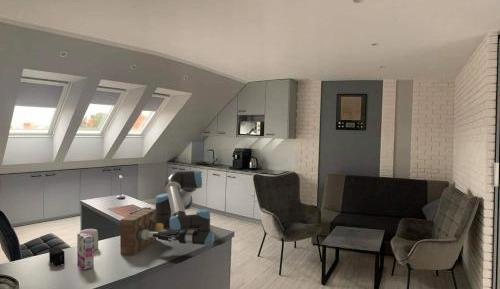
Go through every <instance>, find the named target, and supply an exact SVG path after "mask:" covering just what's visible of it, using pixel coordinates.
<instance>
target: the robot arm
mask: <svg viewBox="0 0 500 289" xmlns="http://www.w3.org/2000/svg"><path fill="white" fill-rule="evenodd" d="M202 187H203V177H202V172H201V171H200V170H191V171H190V170H189V171H187V170H185V171H174V172H172V173H171V174H170V175H169V176H167V178H166V180H165V182H164V190H165V192H166V193H161V194H157V195H156V196H155V201H154V203H155V205H154V206H155V208H154V209H156V224H157V223H162V224H163V226H164V228H169V229H170V230H163V231H162V232H148V237H156V239H157V240H161V241H167V242H169V243H171V242H172V241H174V242H175V241H178V243H179V244H188V245H192V246H193V245H200V246H212V245H213V244H214V242H215V232H214V231H211V212H210V210H208V209H205V208H204V209H203V208H202V209H198V210H196V214H193V213H192V214H186V213H187V212H186V210H190V209H191V208H192V206H193V196H192V195H193V193H194V192H195V191H196V190H197V189H198V190H199V189H202ZM164 228H163V229H164ZM194 229H196V230H194Z"/></svg>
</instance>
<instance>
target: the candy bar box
mask: <svg viewBox="0 0 500 289" xmlns="http://www.w3.org/2000/svg"><path fill="white" fill-rule="evenodd" d="M76 235H77V237H76V238H77V240H76V241H77V246H76V248H77V249H76V251H77V252H76V254H77V260H76V261H77V264H76V265H78V266H79V267H80V268H81V269H82V270H83V271H87V270H91V269H94V268H95V267H94V251H95V250H94V236H92V235H90V234H89V233H87V232H84V233H80V232H79V233H76Z"/></svg>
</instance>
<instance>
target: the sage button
mask: <svg viewBox="0 0 500 289" xmlns="http://www.w3.org/2000/svg"><path fill="white" fill-rule="evenodd" d="M148 232H150V231H149V230H142V231H141V234H140V238H141V239H143V240H148V238H149V237H148Z"/></svg>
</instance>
